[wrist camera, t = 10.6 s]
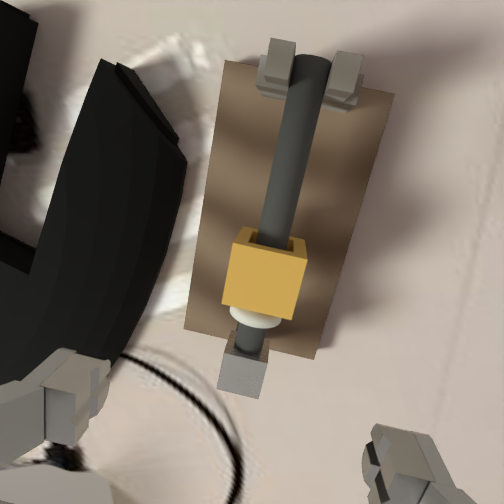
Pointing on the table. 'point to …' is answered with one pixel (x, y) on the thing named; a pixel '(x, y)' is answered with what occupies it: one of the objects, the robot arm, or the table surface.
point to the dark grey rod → (285, 180)
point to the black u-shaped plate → (87, 217)
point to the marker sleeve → (264, 275)
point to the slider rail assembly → (311, 195)
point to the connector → (243, 369)
